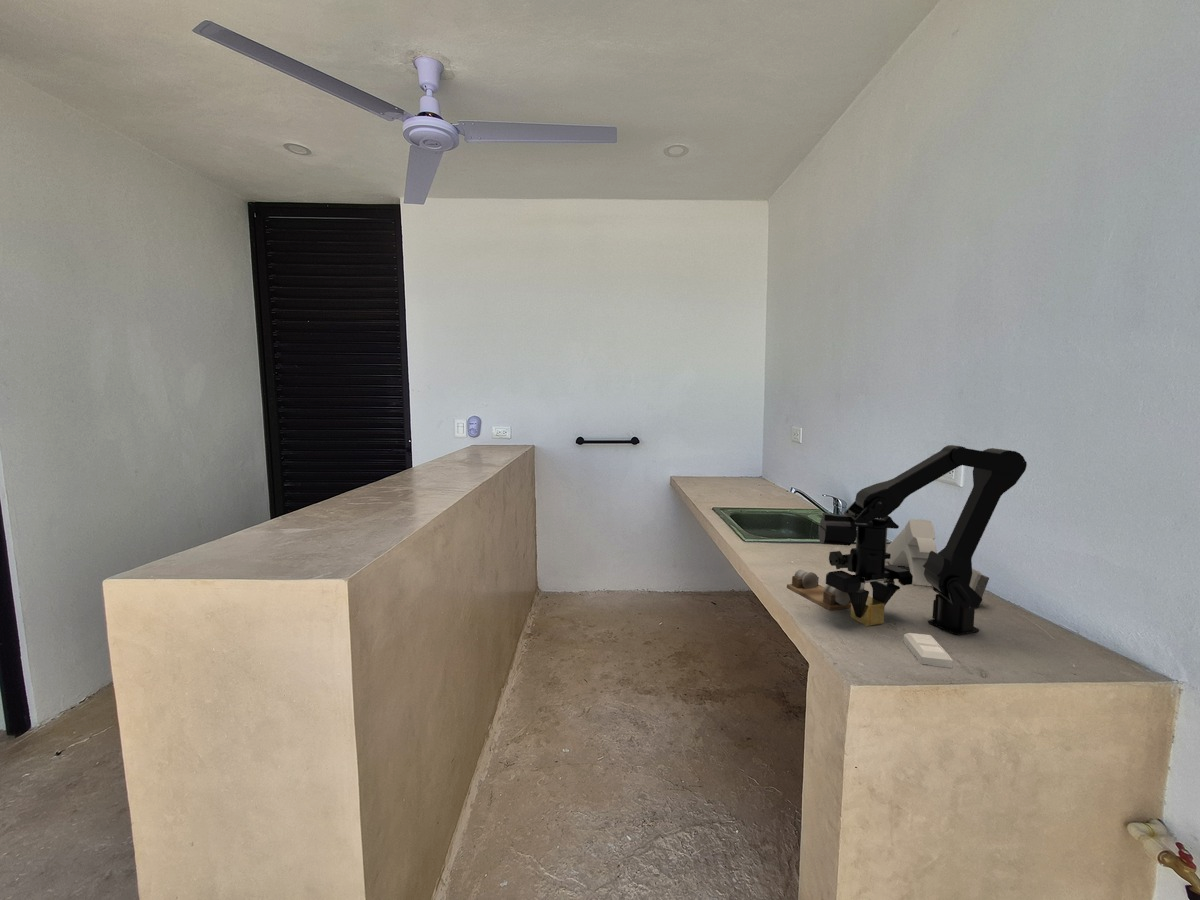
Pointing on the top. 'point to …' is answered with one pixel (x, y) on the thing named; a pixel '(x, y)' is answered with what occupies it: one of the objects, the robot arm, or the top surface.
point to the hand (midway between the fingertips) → (867, 615)
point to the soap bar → (927, 650)
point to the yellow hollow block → (871, 612)
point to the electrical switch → (978, 582)
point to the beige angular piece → (913, 548)
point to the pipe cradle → (818, 591)
